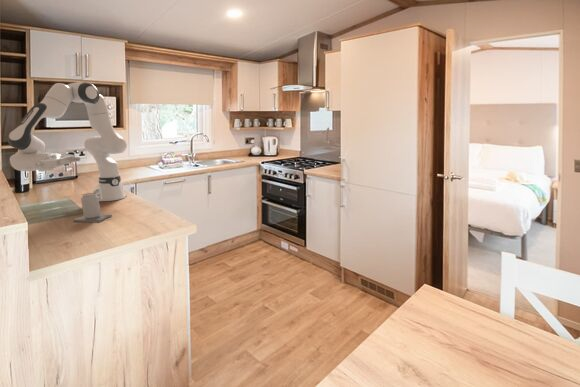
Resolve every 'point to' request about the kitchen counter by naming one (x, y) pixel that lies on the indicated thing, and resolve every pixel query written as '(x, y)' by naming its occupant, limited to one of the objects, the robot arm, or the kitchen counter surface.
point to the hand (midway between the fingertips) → (74, 160)
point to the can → (90, 206)
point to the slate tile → (99, 219)
